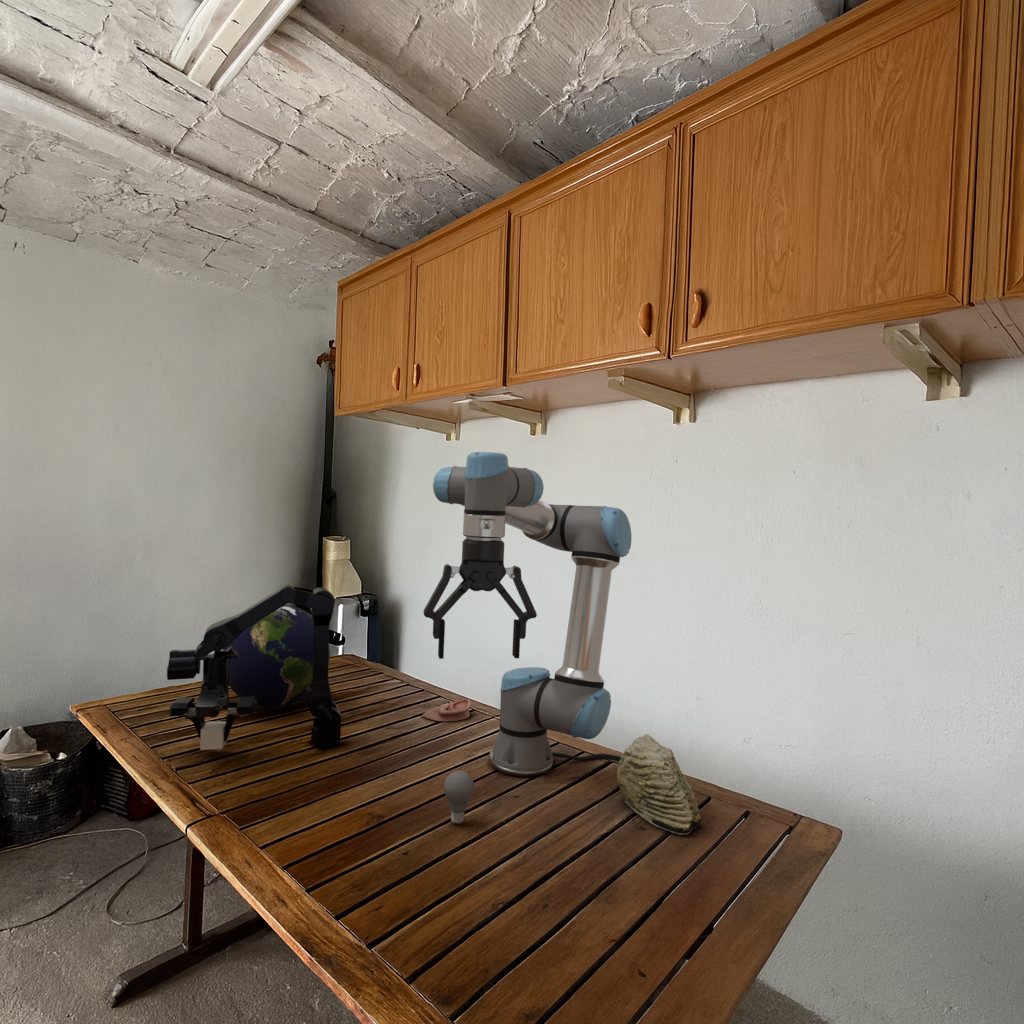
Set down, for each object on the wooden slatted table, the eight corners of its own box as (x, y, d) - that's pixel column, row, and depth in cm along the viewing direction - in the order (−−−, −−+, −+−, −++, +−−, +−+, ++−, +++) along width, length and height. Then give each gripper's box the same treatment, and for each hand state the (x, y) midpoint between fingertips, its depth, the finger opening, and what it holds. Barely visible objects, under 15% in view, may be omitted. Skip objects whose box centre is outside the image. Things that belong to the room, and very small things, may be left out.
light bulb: (442, 814, 128) (444, 765, 128) (472, 814, 129) (474, 765, 129) (441, 829, 122) (444, 778, 122) (472, 829, 123) (475, 778, 123)
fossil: (629, 792, 142) (632, 725, 142) (706, 824, 129) (710, 751, 129) (606, 804, 135) (609, 735, 135) (684, 839, 122) (687, 763, 122)
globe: (289, 685, 209) (292, 594, 208) (348, 705, 191) (352, 606, 191) (199, 706, 185) (203, 604, 184) (258, 732, 167) (262, 619, 167)
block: (200, 749, 149) (200, 729, 149) (206, 741, 154) (206, 721, 154) (221, 749, 150) (222, 728, 150) (227, 741, 155) (227, 721, 155)
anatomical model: (419, 705, 182) (432, 693, 194) (418, 719, 182) (431, 706, 194) (463, 710, 180) (474, 698, 191) (463, 724, 180) (473, 711, 191)
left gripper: (161, 687, 142) (159, 756, 143) (249, 686, 146) (247, 753, 146) (178, 673, 153) (176, 737, 154) (259, 672, 157) (257, 735, 157)
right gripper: (414, 538, 107) (409, 662, 108) (556, 542, 112) (551, 661, 112) (412, 535, 115) (407, 651, 115) (546, 539, 119) (541, 651, 120)
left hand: (213, 741), depth 152 cm, fingers closed on block, 5 cm apart
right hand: (478, 656), depth 114 cm, fingers open, 13 cm apart
